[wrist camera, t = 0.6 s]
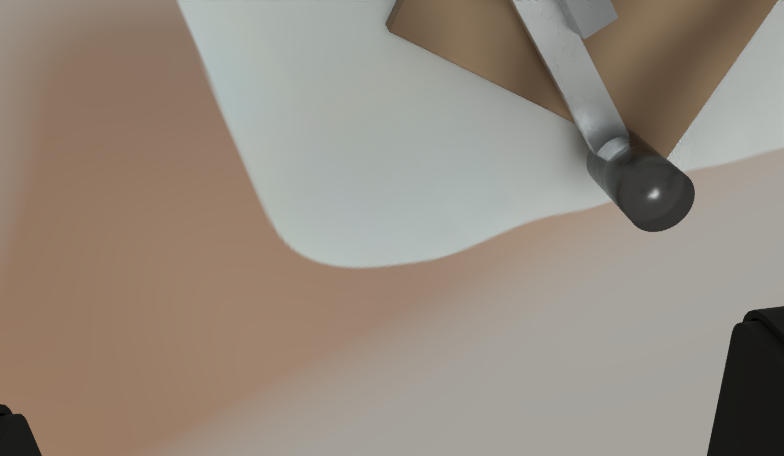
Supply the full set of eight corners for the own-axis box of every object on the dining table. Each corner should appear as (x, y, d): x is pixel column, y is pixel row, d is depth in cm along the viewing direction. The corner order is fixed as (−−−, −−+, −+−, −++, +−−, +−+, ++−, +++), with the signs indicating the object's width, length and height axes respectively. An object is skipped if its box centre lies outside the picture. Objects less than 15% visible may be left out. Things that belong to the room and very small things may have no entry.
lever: (445, -71, 29) (472, -56, 25) (531, -131, 29) (574, -127, 24) (596, 198, 36) (637, 246, 32) (668, 155, 36) (720, 198, 31)
